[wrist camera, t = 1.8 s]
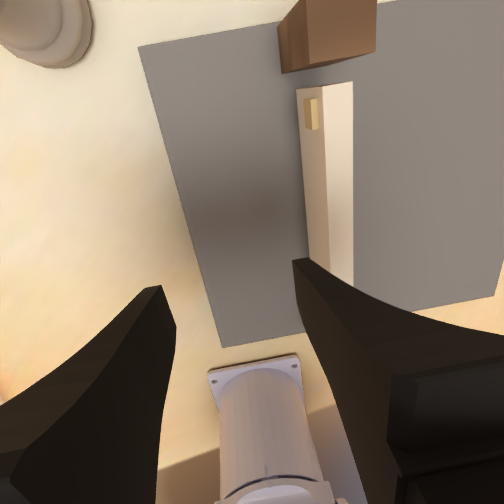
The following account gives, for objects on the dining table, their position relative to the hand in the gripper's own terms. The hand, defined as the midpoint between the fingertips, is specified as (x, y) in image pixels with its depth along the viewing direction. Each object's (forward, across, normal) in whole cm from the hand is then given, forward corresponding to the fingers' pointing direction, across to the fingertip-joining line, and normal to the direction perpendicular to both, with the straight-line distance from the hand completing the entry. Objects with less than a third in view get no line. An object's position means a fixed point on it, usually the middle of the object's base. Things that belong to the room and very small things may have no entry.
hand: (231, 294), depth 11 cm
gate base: (+9, -8, +1) cm, 13 cm away
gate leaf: (+8, -6, 0) cm, 10 cm away
